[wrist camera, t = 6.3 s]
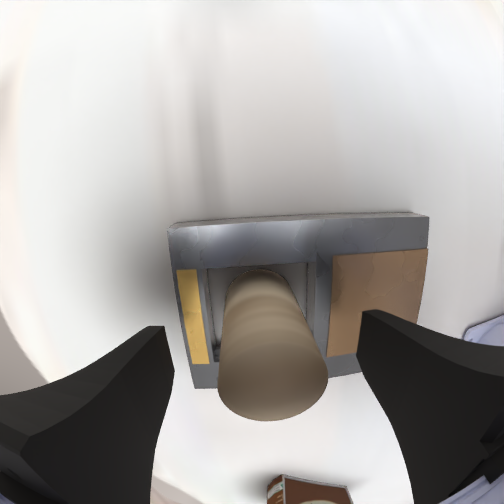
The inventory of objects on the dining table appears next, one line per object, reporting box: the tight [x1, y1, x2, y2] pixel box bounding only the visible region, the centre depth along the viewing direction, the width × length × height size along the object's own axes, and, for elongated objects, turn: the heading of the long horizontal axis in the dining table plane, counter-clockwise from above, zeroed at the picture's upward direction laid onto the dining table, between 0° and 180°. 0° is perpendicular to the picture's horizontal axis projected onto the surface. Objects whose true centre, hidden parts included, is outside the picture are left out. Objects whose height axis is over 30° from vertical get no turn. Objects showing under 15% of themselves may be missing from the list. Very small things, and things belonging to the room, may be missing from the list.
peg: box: [217, 269, 328, 421], centre depth 10 cm, size 3×3×6 cm
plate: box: [167, 213, 429, 389], centre depth 12 cm, size 8×12×2 cm
